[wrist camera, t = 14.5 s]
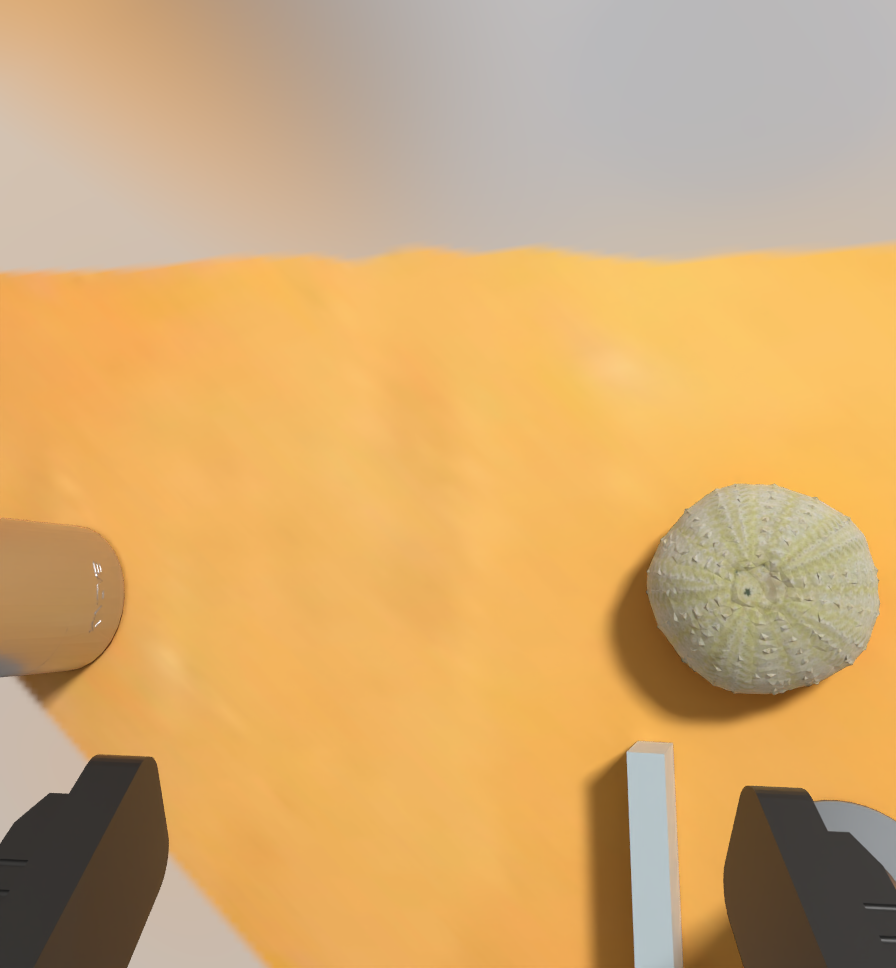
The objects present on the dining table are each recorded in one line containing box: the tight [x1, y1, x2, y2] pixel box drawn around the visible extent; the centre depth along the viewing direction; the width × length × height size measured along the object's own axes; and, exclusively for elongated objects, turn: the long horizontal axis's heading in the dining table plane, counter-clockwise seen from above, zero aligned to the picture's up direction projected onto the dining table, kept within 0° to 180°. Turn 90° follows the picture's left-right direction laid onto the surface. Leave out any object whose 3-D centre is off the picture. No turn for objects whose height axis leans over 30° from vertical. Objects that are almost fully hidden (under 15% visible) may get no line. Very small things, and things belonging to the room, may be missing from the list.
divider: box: [627, 741, 683, 968], centre depth 36 cm, size 2×12×3 cm, turn 0°
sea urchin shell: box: [646, 484, 880, 695], centre depth 35 cm, size 9×8×8 cm
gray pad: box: [813, 800, 896, 881], centre depth 34 cm, size 8×8×1 cm
